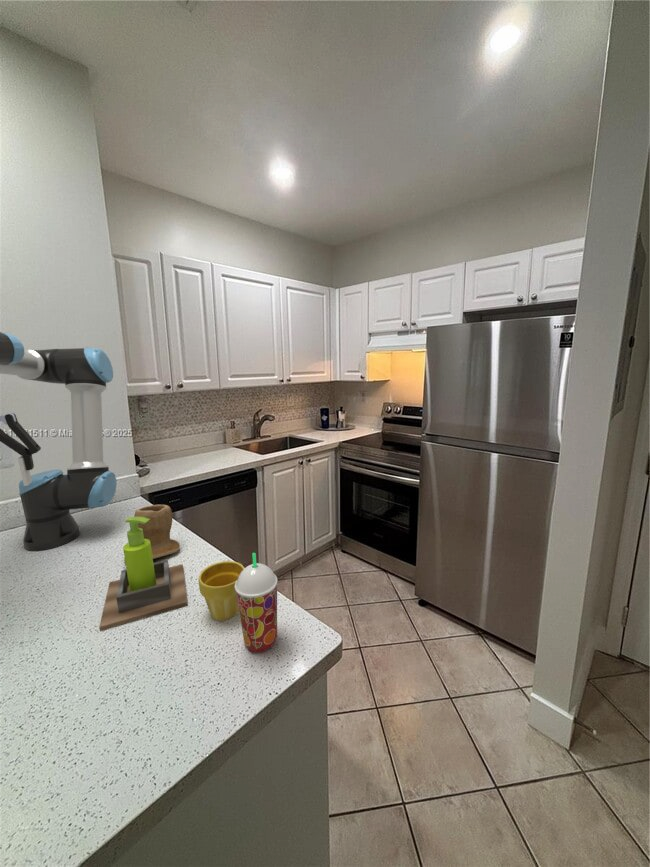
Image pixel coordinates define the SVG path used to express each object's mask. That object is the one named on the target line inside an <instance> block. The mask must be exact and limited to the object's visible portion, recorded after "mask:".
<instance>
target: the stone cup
mask: <svg viewBox="0 0 650 867" xmlns="http://www.w3.org/2000/svg"><path fill="white" fill-rule="evenodd" d="M134 511H135V512H134V515H133V517H145V518H148V519H150V520H149V521H148V522H146V523H145V524H142V523H138V528H142V529H143V535H144V539H149V540H150V543H151V550H152V557H153V560H155V559H159V558H162V557H165V556H168V555H171V554H174V553H176V552H178V551H179V550H180V548H181V547H180V543H179V541H177V540H175V539H172V538H171V529H172V527H173V526H172V525H173V512H172V508H171V507H170V506H169V505H167V504H153V505H152V504H151V505H147V506H142V507H139V508H138V509H136V510H134ZM123 561H124V566H125V567H126V563H125V557H124V559H123Z"/></svg>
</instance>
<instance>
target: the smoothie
mask: <svg viewBox="0 0 650 867" xmlns="http://www.w3.org/2000/svg"><path fill="white" fill-rule="evenodd" d="M278 580H279V579H278V577H277V575H276V574H275V572H273V570H272V569H271V568H270V567H269V566H268V565H266V564H264V563H260V562H257V554H256V552H252V564H250V565H247V566H246V567H244V569H243V571H242V572H241V573H240V575H239V577H238V580H237V581H236V583H235V591H236V597H237V603H238V608H239V612H238V613H239V619H240V620H239V621H240V626H241V631H242V637H243V642H244V644H245V645H246V647H247V648H248V650H250V651H252V652H253V653H262V652H267V651H268V650H269V649H271V648H272V646H274V644H275V642H276V640H277V638H278V637H277V636H278Z"/></svg>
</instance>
